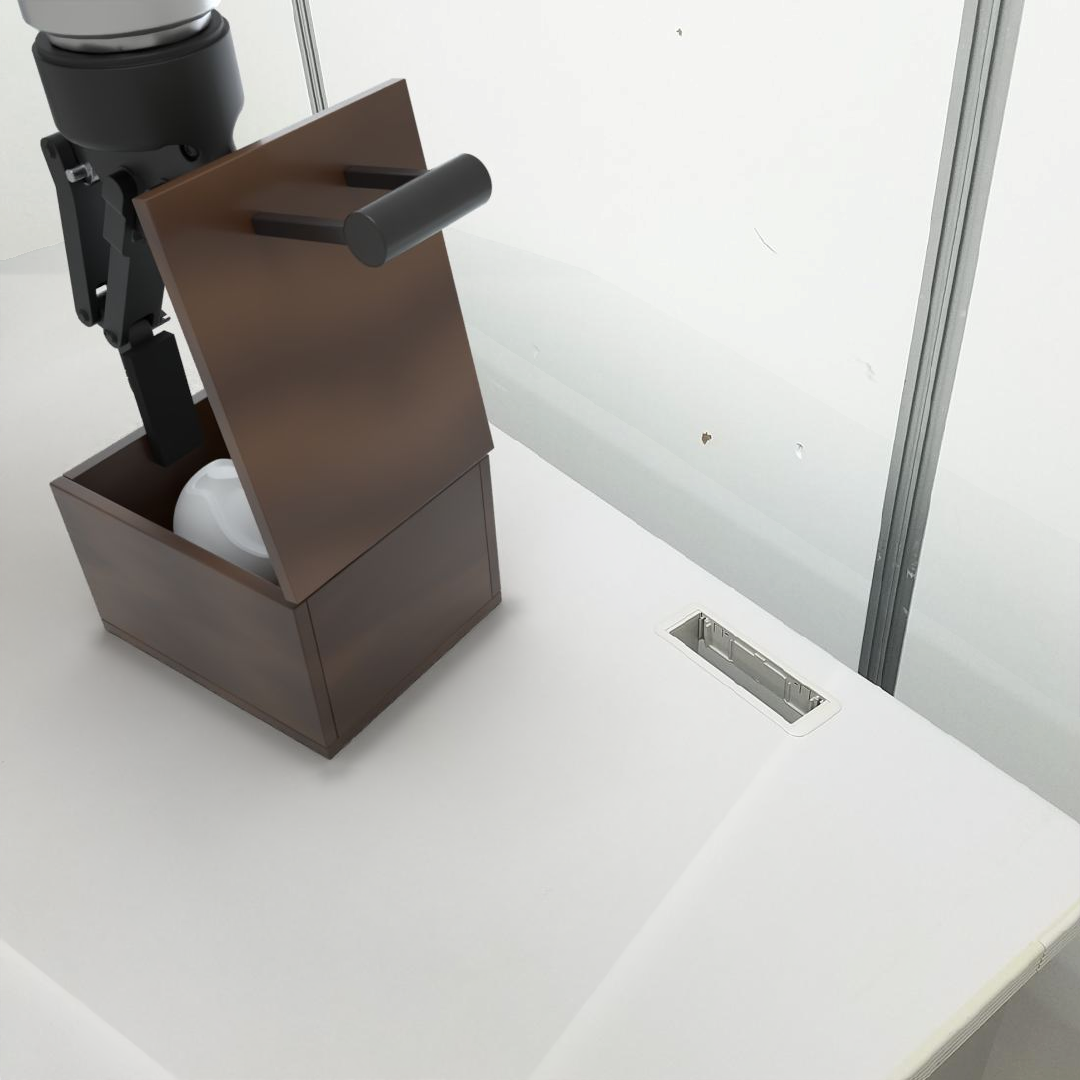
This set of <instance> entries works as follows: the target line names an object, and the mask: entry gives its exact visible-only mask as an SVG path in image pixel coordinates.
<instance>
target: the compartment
mask: <svg viewBox="0 0 1080 1080" xmlns="http://www.w3.org/2000/svg"><path fill="white" fill-rule="evenodd" d="M191 395H192V398H193V402H194V405H195V409H196V412H197V416H198V420H199V423H200V427H201V430H202V434H203V437H204V441H205V443H204V444H202V445H200V446H199V447H197V448H196V449H194V450H193V451H191V452H190V453H188V454H186V455H185V456H183V457H182V458H180V459H179V460H177V461H176V462H174V463H173V464H171V465H169V466H168V467H166V468H165V467H162V466H160V465H158V464H156V462H155V459H154V456H153V453H152V450H151V447H150V443H149V440H148V437H147V434H146V431H145V428H144V425H143V424H142V426H139V427H138V428H137V429H135V430H133V431H132V432H130V433H128V434H126V435H125V436H123V437H121V438H120V439H118V440H117V441H115V442H113V443H112V444H110V445H109V446H108V445H107V447H105V448H104V449H102V450H100V451H98V452H97V453H95V454H93V455H92V456H90V457H89V458H87V459H86V460H84V461H82V462H81V463H79V464H77V465H75V466H73V467H71V469H69V470H67V471H66V472H64V473H62V474H61V475H60V476H58V477H56V478H55V479H54V480H51V481H50V482H49V483H48V485H49V487H50V490H51V492H52V493H51V494H52V495H53V497H54V501H55V503H56V506H57V508H58V511H59V513H60V516H61V518H62V521H63V523H64V527H65V529H66V532H67V535H68V536H69V537H68V538H69V539H70V542H71V545H72V548H73V550H74V551H75V552H74V553H75V555H76V558H77V560H78V562H79V566H80V567H81V571H82V573H83V576H84V579H85V581H86V583H87V586H88V588H89V591H90V594H91V596H92V599H93V602H94V605H95V607H96V609H97V612H98V615H99V617H100V618H101V622H102V626H103V628H104V629H105V630H107V631H108V632H110V633H111V634H113V635H115V636H117V637H119V638H120V639H122V640H124V641H126V642H127V643H129V644H131V645H132V646H134V647H136V648H137V649H139V650H141V651H143V652H144V653H146V654H148V655H150V656H151V657H153V658H155V659H157V660H158V661H160V662H162V663H164V664H165V665H166V666H169V667H170V668H172V669H174V670H175V671H177V672H179V673H180V674H182V675H184V676H185V677H187V678H188V679H191V680H193V681H194V682H195V683H197V684H200V685H201V686H203V687H204V688H206V689H208V690H210V691H211V692H213V693H215V694H217V695H219V696H220V697H222V698H224V699H225V700H227V701H229V702H231V703H232V704H234V705H235V706H237V707H239V708H241V709H243V710H244V711H246V712H248V713H249V714H251V715H253V716H255V718H258V719H259V720H262V721H263V722H265V723H266V724H268V725H270V726H272V727H274V728H275V729H277V730H279V731H280V732H282V733H284V734H285V735H288V736H289V737H290V738H292V739H294V740H296V741H297V742H299V743H301V744H303V745H304V746H306V747H308V748H310V749H311V750H313V751H314V752H316V753H318V754H320V755H321V756H323V757H325V758H326V759H329V760H331V759H333V757H334V756H336V755H337V754H338V753H339V752H340V750H342V749H343V748H344V747H345V746H346V745H347V744H348V743H349V742H350V741H352V740H353V738H355V737H356V736H357V735H358V734H359V733H360V732H361V731H363V729H364V728H365V727H367V726H368V725H369V724H370V723H371V722H372V721H373V720H374V719H375V718H376V717H378V715H380V714H381V713H382V712H383V711H384V710H385V709H386V708H387V707H388V706H390V705H391V704H392V703H393V702H394V701H395V700H396V699H397V698H398V697H399V696H400V695H402V693H404V691H406V690H407V689H408V688H409V687H410V686H411V685H412V684H413V683H415V682H416V681H417V680H418V678H420V677H421V676H422V675H424V673H426V672H427V670H429V668H431V667H432V666H433V665H434V664H435V663H436V662H437V661H438V660H439V659H441V658H442V657H443V656H444V655H445V654H446V653H447V652H448V651H449V650H450V649H451V648H453V647H454V646H455V645H456V644H457V643H458V642H459V641H460V640H461V639H462V638H463V637H464V636H465V635H466V634H468V633H469V632H470V631H471V630H472V629H473V628H474V627H476V625H478V624H479V622H480V621H482V620H483V619H484V618H485V617H486V616H487V615H488V614H489V613H490V612H491V611H492V610H494V609H495V608H496V607H497V606H498V605H499V604H500V603H501V602H502V600H503V597H502V584H501V572H500V564H499V563H500V562H499V553H498V552H499V551H498V550H499V549H498V539H497V528H496V518H495V507H494V506H495V505H494V493H493V484H492V473H491V461H490V455H489V453H488V454H486V455H485V456H484V457H483V458H481V459H480V460H479V461H478V462H476V463H475V464H474V465H472V466H471V467H470V468H469V469H467V470H466V471H465V472H464V473H462V474H461V475H460V476H459V477H457V478H456V479H455V480H454V481H452V482H451V483H450V484H449V485H447V486H446V487H445V488H444V489H442V490H441V491H440V492H439V493H437V494H436V495H435V496H433V497H432V498H431V499H430V500H428V501H427V502H426V503H425V504H423V505H422V506H421V507H420V508H418V509H417V510H416V511H415V512H413V513H412V514H411V515H410V516H408V517H407V518H406V519H405V520H403V521H402V522H401V523H400V524H398V525H397V526H396V527H394V528H393V529H392V530H391V531H389V532H388V533H387V534H386V535H384V536H383V537H382V538H381V539H379V540H378V541H377V542H376V543H374V544H373V545H372V546H371V547H369V548H368V549H367V550H366V551H364V552H363V553H362V554H361V555H359V556H358V557H357V558H355V559H354V560H353V561H352V562H350V563H349V564H348V565H347V566H345V567H344V568H343V569H342V570H340V571H339V572H338V573H337V574H335V575H334V576H333V577H332V578H330V579H329V580H328V581H327V582H325V583H324V584H323V585H322V586H320V587H319V588H318V589H316V590H315V591H314V592H313V593H311V594H310V595H309V596H308V597H306V598H305V599H304V600H303V601H301V602H300V603H299V604H296V603H293V602H290V601H287V600H286V599H285V597H284V594H283V591H282V589H281V588H280V587H278V586H277V585H275V584H273V583H271V582H269V581H267V580H265V579H263V578H261V577H259V576H257V575H255V574H253V573H251V572H249V571H247V570H245V569H243V568H241V567H239V566H237V565H235V564H234V563H232V562H230V561H228V560H226V559H224V558H222V557H220V556H218V555H216V554H214V553H212V552H210V551H208V550H206V549H204V548H202V547H200V546H198V545H196V544H194V543H192V542H190V541H189V540H187V539H185V538H183V537H181V536H179V535H177V534H175V533H174V530H173V519H174V512H175V507H176V504H177V501H178V498H179V496H180V494H181V492H182V490H183V488H184V487H185V485H186V484H187V483H188V481H189V480H190V479H191V478H192V477H193V476H194V475H195V474H196V473H197V472H198V471H199V470H200V469H202V468H203V467H204V466H206V465H207V464H209V463H211V462H213V461H215V460H218V459H231V456H230V454H229V451H228V449H227V446H226V443H225V441H224V438H223V436H222V433H221V430H220V428H219V425H218V423H217V420H216V417H215V415H214V412H213V410H212V407H211V404H210V402H209V399H208V397H207V394H206V391H205V389H204V388H202V389H201V390H199V391H197V392H195V393H194V394H191ZM231 460H232V459H231Z"/></svg>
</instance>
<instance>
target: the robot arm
mask: <svg viewBox="0 0 1080 1080" xmlns="http://www.w3.org/2000/svg"><path fill="white" fill-rule="evenodd" d="M221 1H222V0H16V2H17V5H18V8H19V10H20V14H21V17H22V20H23V21H24V22H25V24H27V25H29V26H30V27H31V28H33V29H34V30H35V31H37V32H38V33H37V34H36V35H35V38H34V42H32V45H31V54H32V57H33V60H34V62H35V66H36V69H37V72H38V75H39V78H40V82H41V85H42V88H43V92H44V94H45V97H46V100H47V104H48V107H49V110H50V114H51V116H52V117H51V118H52V119H53V120H52V121H53V123H54V126H55V127H56V129H57V131H56V132H54V133H51V134H49V135H46V136H43V137H41V139H40V140H39V141H40V142H39V147H40V149H41V152H42V155H43V157H44V160H45V162H46V163H45V164H46V165H47V168H48V171H49V173H50V177H51V179H52V181H53V184H54V187H55V193H56V199H57V204H58V210H59V216H60V223H61V229H62V230H61V231H62V235H63V242H64V243H63V244H64V248H65V254H66V260H67V267H68V272H69V281H70V286H71V293H72V300H73V304H74V311H75V314H76V316H77V319H78V320H79V321H80V323H81V324H83V325H84V326H85V327H86V328H92V327H94V326H96V325H98V326H99V327H100V328H101V329H102V331H103V332H102V333H103V336H104V338H105V340H106V341H107V343H108V344H109V345H110V346H111V347H112V348H114V349H117V351H118V354H119V357H120V359H121V363H122V366H123V369H124V372H125V375H126V377H127V382H128V385H129V388H130V390H131V391H132V393H133V397H134V399H135V403H136V406H137V409H138V412H139V415H140V419H141V422H142V426H143V425H144V428H145V431H146V434H147V437H148V440H149V443H150V447H151V450H152V453H153V456H154V459H155V462H156V464H158V465H160V466H162V467H165V468H166V467H168V466H169V465H171V464H173V463H174V462H176V461H177V460H179V459H180V458H182V457H183V456H185V455H186V454H188V453H190V452H191V451H193V450H194V449H196V448H197V447H199V446H200V445H202V444H204V443H205V441H204V437H203V434H202V430H201V427H200V423H199V420H198V416H197V412H196V409H195V405H194V402H193V398H192V395H193V394H192V392H191V388H190V384H189V380H188V377H187V374H186V371H185V367H184V364H183V360H182V357H181V352H180V349H179V345H178V342H177V338H176V336H175V333H173V332H170V331H167V330H164V329H163V330H162V331H160V332H158V333H156V334H154V331H153V330H155V329H157V328H159V327H161V326H162V325H164V324H165V323H169V321H171V319H172V318H171V316H168V317H166V316H167V315H168V313H166V312H165V311H164V310H163V309H162V308H163V302H164V294H165V289H166V287H165V285H164V282H163V280H162V277H161V274H160V272H159V269H158V267H157V264H156V261H155V259H154V256H153V254H152V251H151V248H150V246H149V243H148V241H147V238H146V235H145V233H144V230H143V228H142V225H141V222H140V220H139V217H138V215H137V212H136V209H135V207H134V204H133V202H132V199H133V198H135V197H137V196H139V195H141V194H143V193H146V192H148V191H150V190H152V189H154V188H156V187H159V186H161V185H163V184H165V183H167V182H169V181H172V180H174V179H176V178H178V177H180V176H182V175H184V174H187V173H189V172H191V171H193V170H195V169H197V168H200V167H202V166H204V165H206V164H208V163H210V162H213V161H215V160H217V159H219V158H221V157H223V156H225V155H228V154H230V153H232V152H234V151H236V150H238V149H237V146H236V143H235V140H234V131H235V128H236V124H237V121H238V119H239V117H240V115H241V113H242V111H243V109H244V105H245V91H244V87H243V81H242V78H241V73H240V69H239V68H240V67H239V63H238V57H237V55H236V48H235V45H234V39H233V35H232V30H231V25H230V22H229V21H228V19H227V18H226V17H225V16H224V15H222V14H221V13H220V12H219V10H217V9H215V8H217V7H218V6H219V4H220V3H221ZM103 286H106V289H104V290H102V291H100V292H97V290H98V289H99V288H102V287H103ZM165 317H166V318H165Z"/></svg>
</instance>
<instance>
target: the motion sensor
mask: <svg viewBox="0 0 1080 1080" xmlns="http://www.w3.org/2000/svg"><path fill="white" fill-rule="evenodd" d="M173 530H174V533H175V534H177V535H179V536H181V537H183V538H185V539H187V540H189V541H190V542H192V543H194V544H196V545H198V546H200V547H202V548H204V549H206V550H208V551H210V552H212V553H214V554H216V555H218V556H220V557H222V558H224V559H226V560H228V561H230V562H232V563H234V564H235V565H237V566H239V567H241V568H243V569H245V570H247V571H249V572H251V573H253V574H255V575H257V576H259V577H261V578H263V579H265V580H267V581H269V582H271V583H273V584H275V585H277V586H278V587H280V588H281V586H280V584H279V581H278V578H277V576H276V573H275V571H274V568H273V565H272V563H271V560H270V558H269V555H268V552H267V550H266V547H265V545H264V542H263V539H262V537H261V534H260V532H259V529H258V526H257V524H256V521H255V519H254V516H253V513H252V511H251V508H250V506H249V503H248V501H247V498H246V495H245V493H244V490H243V488H242V485H241V482H240V480H239V477H238V475H237V472H236V469H235V467H234V464H233V462H232V460H231V459H218V460H215V461H213V462H211V463H209V464H207V465H206V466H204V467H203V468H202V469H200V470H199V471H198V472H197V473H196V474H195V475H194V476H193V477H192V478H191V479H190V480H189V481H188V483H187V484H186V485H185V487H184V488H183V490H182V492H181V494H180V496H179V498H178V501H177V504H176V507H175V512H174V519H173Z"/></svg>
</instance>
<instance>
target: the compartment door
mask: <svg viewBox="0 0 1080 1080" xmlns="http://www.w3.org/2000/svg"><path fill="white" fill-rule="evenodd" d="M427 165H428V164H427V162H426V158H425V153H424V149H423V145H422V141H421V136H420V133H419V129H418V124H417V120H416V116H415V112H414V109H413V104H412V100H411V95H410V90H409V87H408V82H407V79H406V78H403V77H401V78H400V77H399V78H398V77H393V78H389V79H388V80H385V81H383V82H381V83H379V84H376V85H374V86H372V87H369V88H368V89H366V90H364V91H362V92H360V93H357V94H354V95H352V96H351V97H348V98H347V99H344V100H342V101H340V102H338V103H336V104H334V105H331V106H329V107H326V108H325V109H322V110H321V111H318V112H316V113H314V114H312V115H310V116H308V117H306V118H303V119H301V120H299V121H297V122H294V123H293V124H291V125H287V126H286V127H284V128H282V129H279V130H278V131H276V132H273V133H271V134H269V135H267V136H265V137H263V138H260V139H258V140H255V141H254V142H252V143H249V144H247V145H245V146H243V147H241V148H238V149H237V150H236V151H234V152H232V153H230V154H228V155H225V156H223V157H221V158H219V159H217V160H215V161H213V162H210V163H208V164H206V165H204V166H202V167H200V168H197V169H195V170H193V171H191V172H189V173H187V174H184V175H182V176H180V177H178V178H176V179H174V180H172V181H169V182H167V183H165V184H163V185H161V186H159V187H156V188H154V189H152V190H150V191H148V192H146V193H143V194H141V195H139V196H137V197H135V198H133V199H132V202H133V204H134V207H135V209H136V212H137V215H138V217H139V220H140V222H141V225H142V228H143V230H144V233H145V235H146V238H147V241H148V243H149V246H150V248H151V251H152V254H153V256H154V259H155V261H156V264H157V267H158V269H159V272H160V274H161V277H162V280H163V282H164V285H165V290H166V292H167V293H166V294H167V295H168V298H169V300H170V303H171V306H172V309H173V311H174V313H175V316H176V319H177V321H178V323H179V327H180V329H181V331H182V334H183V337H184V339H185V342H186V345H187V347H188V350H189V352H190V355H191V358H192V360H193V362H194V365H195V367H196V371H197V373H198V376H199V378H200V381H201V383H202V386H203V389H205V391H206V394H207V397H208V399H209V402H210V404H211V407H212V410H213V412H214V415H215V417H216V420H217V423H218V425H219V428H220V430H221V433H222V436H223V438H224V441H225V443H226V446H227V449H228V451H229V454H230V456H231V459H232V462H233V464H234V467H235V469H236V472H237V475H238V477H239V480H240V482H241V485H242V488H243V490H244V493H245V495H246V498H247V501H248V503H249V506H250V508H251V511H252V513H253V516H254V519H255V521H256V524H257V526H258V529H259V532H260V534H261V537H262V539H263V542H264V545H265V547H266V550H267V552H268V555H269V558H270V560H271V563H272V565H273V568H274V571H275V573H276V576H277V578H278V581H279V584H280V586H281V589H282V591H283V594H284V597H285V599H286V600H287V601H290V602H293V603H296V604H299V603H300V602H301V601H303V600H304V599H305V598H306V597H308V596H309V595H310V594H311V593H313V592H314V591H315V590H316V589H318V588H319V587H320V586H322V585H323V584H324V583H325V582H327V581H328V580H329V579H330V578H332V577H333V576H334V575H335V574H337V573H338V572H339V571H340V570H342V569H343V568H344V567H345V566H347V565H348V564H349V563H350V562H352V561H353V560H354V559H355V558H357V557H358V556H359V555H361V554H362V553H363V552H364V551H366V550H367V549H368V548H369V547H371V546H372V545H373V544H374V543H376V542H377V541H378V540H379V539H381V538H382V537H383V536H384V535H386V534H387V533H388V532H389V531H391V530H392V529H393V528H394V527H396V526H397V525H398V524H400V523H401V522H402V521H403V520H405V519H406V518H407V517H408V516H410V515H411V514H412V513H413V512H415V511H416V510H417V509H418V508H420V507H421V506H422V505H423V504H425V503H426V502H427V501H428V500H430V499H431V498H432V497H433V496H435V495H436V494H437V493H439V492H440V491H441V490H442V489H444V488H445V487H446V486H447V485H449V484H450V483H451V482H452V481H454V480H455V479H456V478H457V477H459V476H460V475H461V474H462V473H464V472H465V471H466V470H467V469H469V468H470V467H471V466H472V465H474V464H475V463H476V462H478V461H479V460H480V459H481V458H483V457H484V456H485V455H486V454H488V455H489V453H490V452H491V451H493V450H494V449H495V444H494V440H493V435H492V432H491V431H492V430H491V427H490V424H489V419H488V415H487V411H486V410H487V409H486V406H485V402H484V397H483V395H482V394H483V393H482V390H481V385H480V382H479V377H478V373H477V369H476V366H475V365H476V364H475V361H474V358H473V353H472V348H471V345H470V340H469V337H468V336H469V335H468V333H467V327H466V324H465V320H464V314H463V311H462V308H461V303H460V298H459V295H458V294H459V293H458V290H457V287H456V282H455V277H454V274H453V269H452V266H451V261H450V257H449V253H448V248H447V245H446V240H445V236H444V232H443V230H444V229H445V228H447V227H449V226H450V225H452V224H454V223H456V222H457V221H459V220H460V219H462V218H464V217H466V216H468V215H469V214H470V213H472V212H474V211H476V210H477V209H479V208H480V207H482V206H484V205H486V204H487V203H488V202H489V201H490V198H491V196H492V193H493V180H492V177H491V174H490V172H489V170H488V168H487V166H486V165H485V164H484V162H483V161H482V160H481V159H480V158H479V157H477V156H475V155H473V154H471V153H466V152H462V153H459V154H457V155H454V156H453V157H450V158H448V159H447V160H445V161H444V162H441V163H440V164H438V165H436V166H434V167H433V168H430V169H428V166H427Z"/></svg>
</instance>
